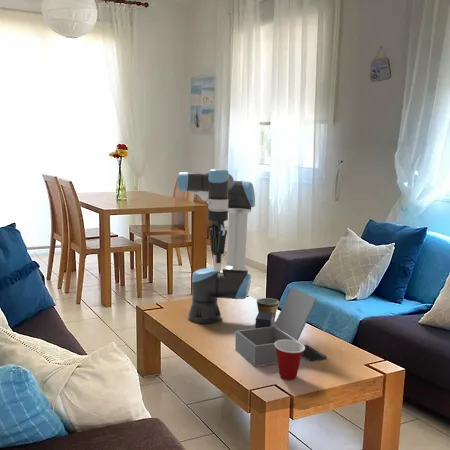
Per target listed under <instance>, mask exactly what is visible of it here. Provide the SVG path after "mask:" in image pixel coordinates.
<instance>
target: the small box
mask: <svg viewBox="0 0 450 450" xmlns="http://www.w3.org/2000/svg"><path fill="white" fill-rule="evenodd" d="M254 326H255V327H254V329H256V328H264V327H272V326H274V325H273V313H272V312H263V311H259V312H258V313H257V315H256V317H255V325H254Z"/></svg>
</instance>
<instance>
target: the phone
mask: <svg viewBox="0 0 450 450" xmlns="http://www.w3.org/2000/svg"><path fill="white" fill-rule="evenodd" d="M303 345H304V346H305V350H304V351H303V353H302V355H301V358H303V359H305V360H307V361H308V362H310V363H312V362H320V361H324V360H326V359H327V355H324V354H323V353H321V352H319V350H316V349H315V348H314V347H311V346H310V345H309V344H303Z"/></svg>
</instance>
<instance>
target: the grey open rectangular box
mask: <svg viewBox="0 0 450 450" xmlns="http://www.w3.org/2000/svg"><path fill="white" fill-rule="evenodd" d="M278 340H293V341H297V340H295V339H294V338H292V337H291V336H289V335H288V334H286V333H285V332H283V331H282V330H280V329H279V328H277V327H276V326H274V325H273V326H272V327H264V328H256V329H255V328H249V329H241V330H235V344H234V345H235V349H234V350H235V351H236V353H238V354H239V355H240V356H241V357H243V359H244V360H246V361H247V362H248V363H249V364H251V366H253V367H254V368H258V367H259V368H260V367H265V366H273V365H278V361H277V353H276V347H275V345H274V343H275V342H276V341H278Z"/></svg>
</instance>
